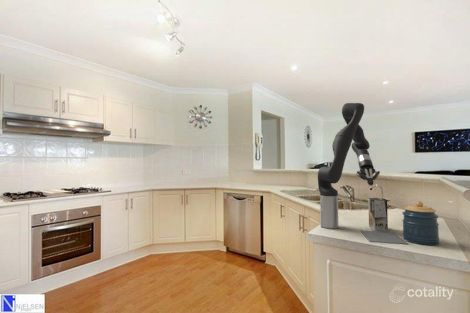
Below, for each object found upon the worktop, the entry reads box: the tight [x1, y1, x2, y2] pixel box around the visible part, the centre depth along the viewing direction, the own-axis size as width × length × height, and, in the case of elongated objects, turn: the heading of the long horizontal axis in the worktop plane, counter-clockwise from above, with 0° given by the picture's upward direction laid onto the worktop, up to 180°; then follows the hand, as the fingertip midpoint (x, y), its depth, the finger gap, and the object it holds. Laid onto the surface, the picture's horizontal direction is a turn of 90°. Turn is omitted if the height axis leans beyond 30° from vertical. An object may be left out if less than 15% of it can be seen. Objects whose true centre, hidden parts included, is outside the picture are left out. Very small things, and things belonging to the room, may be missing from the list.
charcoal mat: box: [360, 229, 409, 245], centre depth 113 cm, size 15×17×1 cm
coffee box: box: [367, 197, 389, 232], centre depth 126 cm, size 9×6×16 cm
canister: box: [401, 201, 440, 246], centre depth 108 cm, size 13×13×18 cm
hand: (371, 184), depth 138 cm, fingers closed
